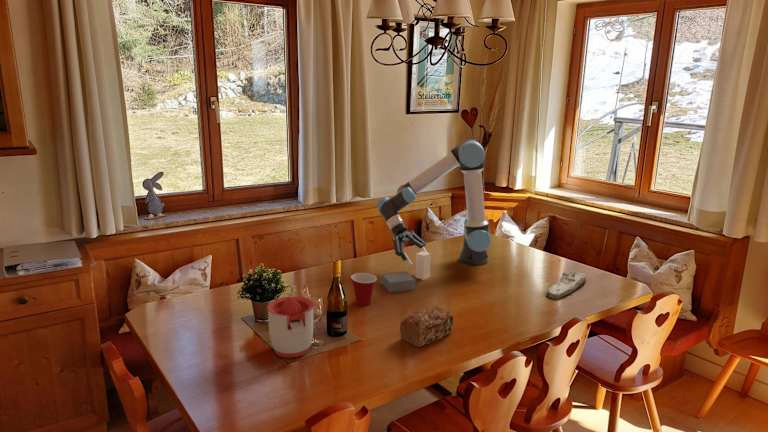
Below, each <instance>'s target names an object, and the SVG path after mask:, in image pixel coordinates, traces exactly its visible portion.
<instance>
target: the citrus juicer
mask: <svg viewBox="0 0 768 432" xmlns="http://www.w3.org/2000/svg"><path fill="white" fill-rule="evenodd" d="M314 306H315V304H314V302H313V301H312V300H311V299H309V298H306V297H301V296H284V297H281V298H280V297H279V298H276V299H274V300H272V301H270V302H269V303H268V304H267V307H266V309H267V311H268V314H267V315H268V334H269V338H270V339H269V340H270V343H271V346H272V349H273V351H274V352H275V354H276V355H277V356H279V357H281V358H283V357H285V358H284V359H287V358H288V359H293V357H295V358H298V357H299V356H300V357H302V356H304V355H306V354H307V353H308V352H309V350H310V348H311V345H312V342H313V337H314Z"/></svg>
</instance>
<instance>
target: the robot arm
mask: <svg viewBox="0 0 768 432" xmlns="http://www.w3.org/2000/svg"><path fill="white" fill-rule="evenodd" d="M485 154H486V153H485V149H484V147H483V145H482V144H480V142H478V141H477V140H476V139H472V138H467V139H464V140H462V141H461V142H460V143H458V144H457V145H456V146H454V147H453V148H452V149H451V150H449V153H448V154H447V155H445V156H444V157H442V158H441V159H440V160H438V161H437V162H435V163H434V164H431V166H430V167H427V168H426V169H425V170H423V171H422V172H421V173H419V174H417V175H416V176H415V177H413V178H412V179H410V180H409V181H408V182H406V183H405V184H402V185H400V186H399V187H398V188H397V190H396V194H395V195H393V196H392V197H390V198H389V196H385V197H382V198H380V199H379V200H378V201H377V202H376V207H377V210H378V211H379V214H380V215H381V217H382V218H383V219H384V221H385V223H386V224H387V226H388V227H389V230H391V231H390V232H392V235H393V236H392V237H391V240H392V242H393V248H394V253H395V256H398V257H401V259H402V261H403V262H404V263H405V265H406V266H407V268H409V267H411V266H412V265H413V262H412V261H411V259H410V258H409V256H408V254H407V252H405V251H404V250H405V243H409V244H410V243H411V244H412V245H413V246H416V247H417V248H418V249H419V251H420V252H422V251H423V252H427V253H428V250H427V248H426V247H425V246H427V243H426V242H425V240H423V239H422V238H421V237H420V236H418V235H417V234H416V233H415V231H414V230H411V231H408V227H407V225H406V223H405V222H404V220H403V218H402V217H401V215H400V214H399V212H400V211H401V210H403V209H404V208H405V207H407V206H409V205H410V204H412V203H413V202H414V201H416V200H417V194H419V193H420V192H421V191H423V190H425V189H427V187H428V186H430V185H432V184H434V183H435V182H436V181H439V179H441V178H442V177H444V176H445V175H447V174H448V173H450V172H451V171H453V170H454V169H455V168H457V167H459V170H460V172H462V173H463V181H464V191H465V192H464V193H465V203H466V204H465V206H466V216H467V217H466V218H465V219H464V223H463V225H464V226H463V227H464V228H463V240H462V241H463V243H462V248H461V250H460V252H459V257H458V260H459V261H460V263H463V264H466V265H470V266H471V265H474V266H480V265H481V266H482V265H485V264H488V263H489V255H488V251H487V249H488V248H490V246H491V244H492V237H491V234H490V233H491V232H490V223H489V221H488V220H487V218H486V209H485V196H484V187H483V186H484V185H483V183H484V182H483V174H482V171H483V170H484V169H485Z"/></svg>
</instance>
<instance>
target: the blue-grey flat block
mask: <svg viewBox="0 0 768 432" xmlns="http://www.w3.org/2000/svg"><path fill="white" fill-rule="evenodd" d="M380 275H381V278H380V279H381V281H380V282H381V284H382V286H383V287H384V288H385V289H386V290H387V291H388V292H389V293H397V292H406V291H413V290H416V278H414V277H413V276H412V275H411V274H410V273H408V272H407V271H406V270H403V271H394V272H386V273H385V272H384V273H381V274H380Z"/></svg>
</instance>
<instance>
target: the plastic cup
mask: <svg viewBox="0 0 768 432" xmlns="http://www.w3.org/2000/svg"><path fill="white" fill-rule="evenodd" d="M350 278H351V280H352V286H353V291H354V297H355V302H356V305H358V306H359V307H360V306H361V307H367V306H370V304H371V302H372V296H373V292H374V287H375V283H376V282H377V280H378V278H377V276H376V275H374V274H371V273H366V272H357V273H354V274H352V275H351V276H350Z"/></svg>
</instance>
